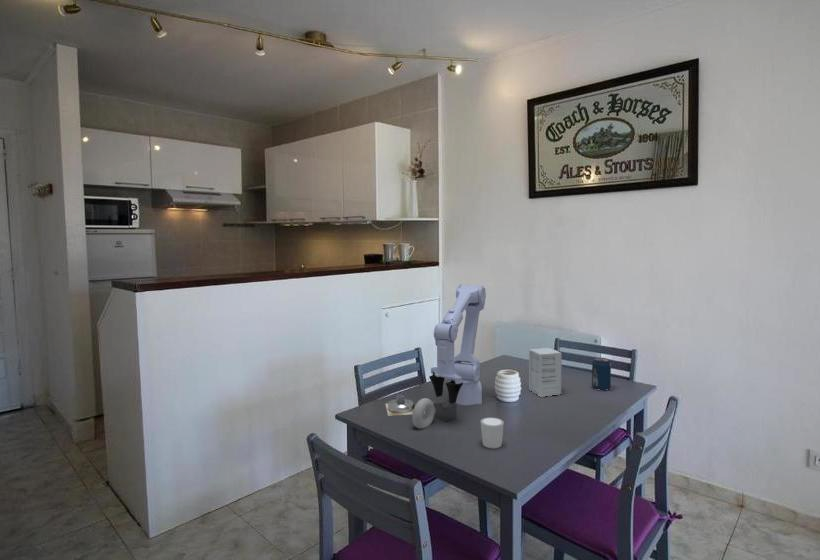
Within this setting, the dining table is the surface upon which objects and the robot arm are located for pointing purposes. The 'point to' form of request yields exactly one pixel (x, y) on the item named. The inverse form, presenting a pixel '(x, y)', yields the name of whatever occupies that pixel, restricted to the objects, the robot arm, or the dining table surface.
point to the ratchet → (404, 404)
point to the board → (399, 413)
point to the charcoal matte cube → (446, 411)
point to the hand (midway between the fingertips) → (445, 399)
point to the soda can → (601, 373)
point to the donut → (429, 413)
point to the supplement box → (545, 371)
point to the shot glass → (492, 432)
